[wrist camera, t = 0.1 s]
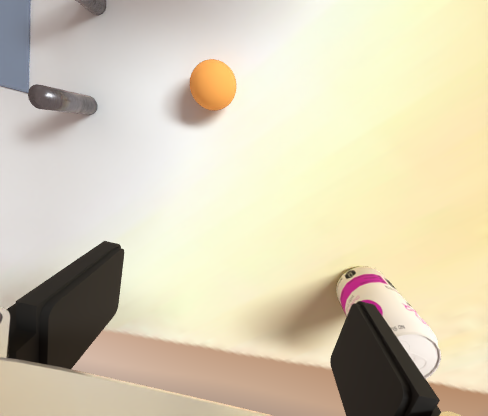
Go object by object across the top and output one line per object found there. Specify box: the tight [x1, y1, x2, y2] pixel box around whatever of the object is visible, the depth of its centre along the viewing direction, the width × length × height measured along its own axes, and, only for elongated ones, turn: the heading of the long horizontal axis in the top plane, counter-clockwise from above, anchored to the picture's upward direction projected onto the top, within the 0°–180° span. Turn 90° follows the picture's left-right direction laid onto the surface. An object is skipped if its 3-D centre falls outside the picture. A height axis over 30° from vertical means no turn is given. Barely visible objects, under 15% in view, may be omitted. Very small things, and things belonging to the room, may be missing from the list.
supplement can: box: [336, 266, 441, 379], centre depth 37 cm, size 8×8×15 cm
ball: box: [190, 59, 236, 110], centre depth 34 cm, size 6×6×6 cm
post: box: [28, 85, 97, 115], centre depth 35 cm, size 3×3×9 cm
